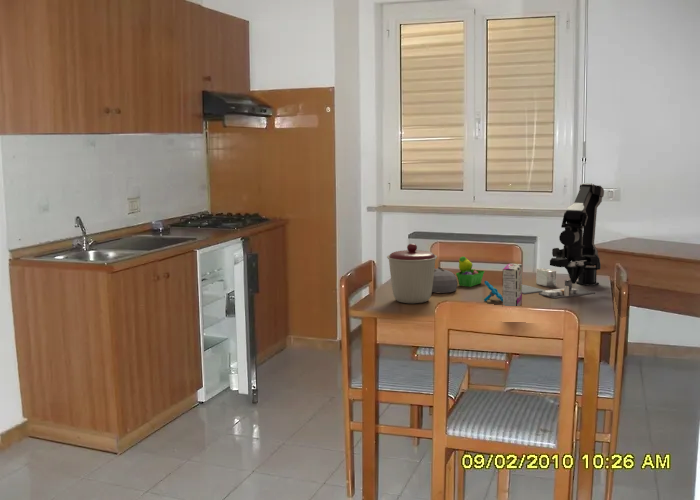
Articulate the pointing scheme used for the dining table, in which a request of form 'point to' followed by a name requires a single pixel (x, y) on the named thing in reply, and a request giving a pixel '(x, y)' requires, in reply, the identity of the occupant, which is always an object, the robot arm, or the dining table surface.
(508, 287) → the candy bar box
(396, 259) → the canister
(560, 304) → the dining table surface
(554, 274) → the chain link
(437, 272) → the soft grey pack
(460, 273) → the fruit basket
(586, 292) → the rail base
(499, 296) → the blue bumpy stand
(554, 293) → the rack
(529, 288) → the pad
